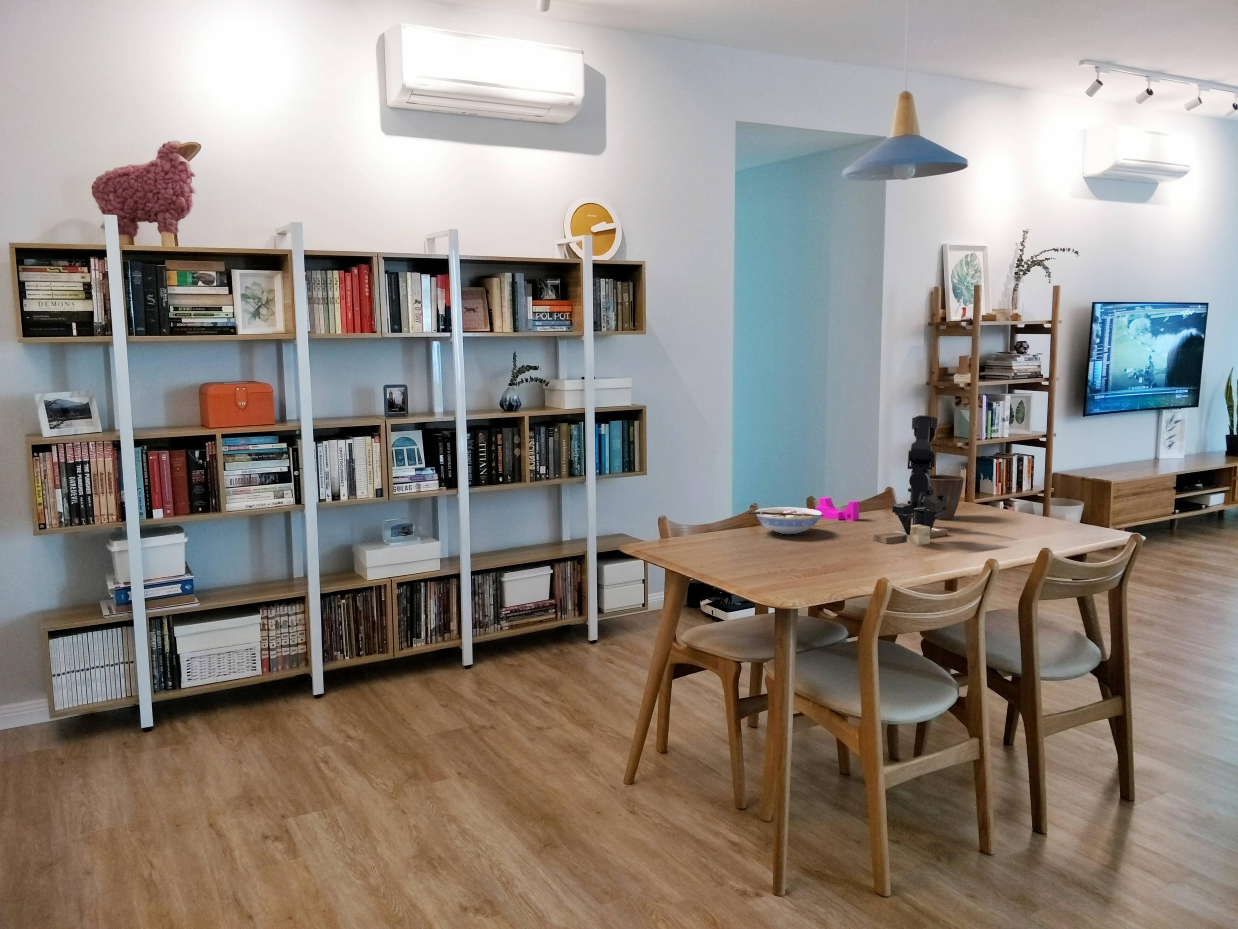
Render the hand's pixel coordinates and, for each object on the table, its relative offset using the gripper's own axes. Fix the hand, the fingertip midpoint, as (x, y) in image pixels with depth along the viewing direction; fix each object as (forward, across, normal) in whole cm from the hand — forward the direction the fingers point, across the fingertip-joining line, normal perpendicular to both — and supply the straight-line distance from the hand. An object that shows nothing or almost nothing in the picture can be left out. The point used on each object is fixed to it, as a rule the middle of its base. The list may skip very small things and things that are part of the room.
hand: (918, 533), depth 316 cm
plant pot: (+3, +39, +26) cm, 47 cm away
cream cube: (+3, 0, 0) cm, 3 cm away
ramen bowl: (+3, -26, +35) cm, 43 cm away
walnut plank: (+3, +4, +7) cm, 9 cm away
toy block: (+4, +7, +47) cm, 48 cm away
